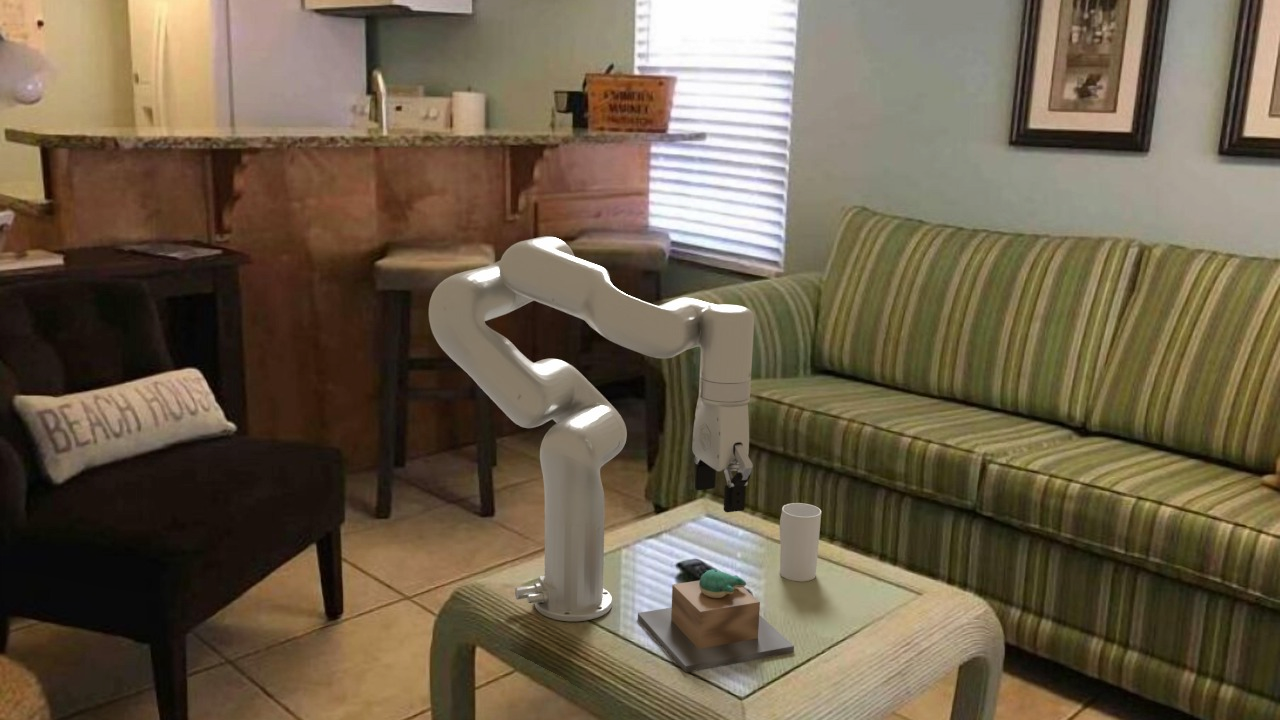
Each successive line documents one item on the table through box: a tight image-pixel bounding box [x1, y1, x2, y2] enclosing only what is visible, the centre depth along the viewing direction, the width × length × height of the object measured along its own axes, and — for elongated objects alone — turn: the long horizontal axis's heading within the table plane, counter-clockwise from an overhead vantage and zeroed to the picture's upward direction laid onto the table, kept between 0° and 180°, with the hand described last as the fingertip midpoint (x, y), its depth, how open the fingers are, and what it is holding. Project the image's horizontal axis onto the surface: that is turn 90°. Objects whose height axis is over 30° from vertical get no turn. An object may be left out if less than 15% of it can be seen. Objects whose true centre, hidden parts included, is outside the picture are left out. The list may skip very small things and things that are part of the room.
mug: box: [779, 502, 822, 582], centre depth 195 cm, size 10×7×12 cm, turn 22°
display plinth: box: [637, 579, 795, 673], centre depth 171 cm, size 18×18×7 cm
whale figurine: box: [699, 568, 747, 598], centre depth 170 cm, size 6×7×4 cm
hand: (719, 499), depth 167 cm, fingers open, 9 cm apart
